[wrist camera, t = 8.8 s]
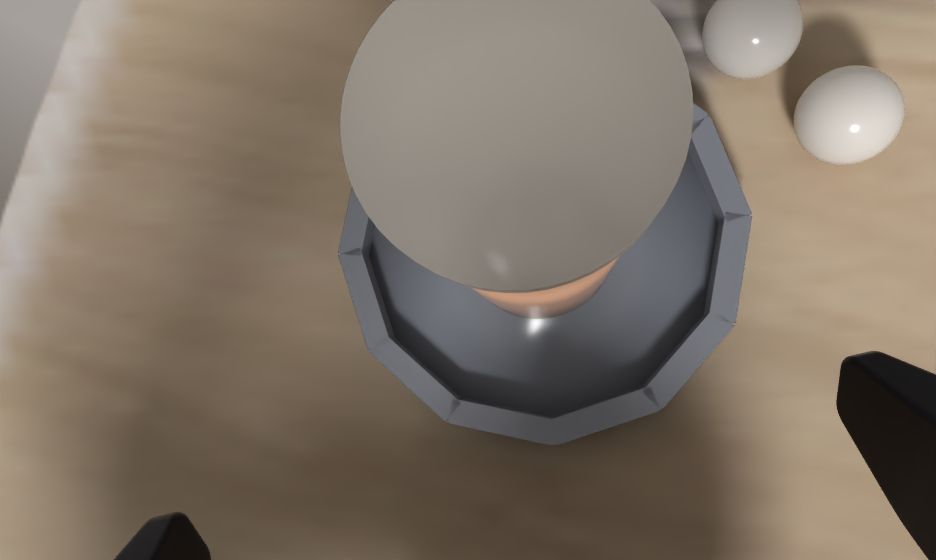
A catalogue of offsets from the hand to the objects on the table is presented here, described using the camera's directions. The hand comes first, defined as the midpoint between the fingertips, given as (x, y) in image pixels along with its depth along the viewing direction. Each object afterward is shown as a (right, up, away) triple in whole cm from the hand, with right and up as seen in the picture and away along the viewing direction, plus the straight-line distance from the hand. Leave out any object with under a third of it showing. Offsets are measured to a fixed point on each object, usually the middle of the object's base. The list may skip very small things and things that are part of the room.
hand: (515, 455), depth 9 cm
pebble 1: (+9, +10, +14) cm, 19 cm away
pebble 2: (+11, +7, +13) cm, 19 cm away
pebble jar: (+2, +4, +13) cm, 14 cm away
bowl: (+2, +4, +14) cm, 15 cm away
